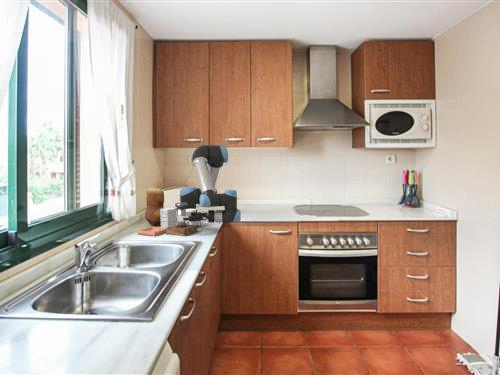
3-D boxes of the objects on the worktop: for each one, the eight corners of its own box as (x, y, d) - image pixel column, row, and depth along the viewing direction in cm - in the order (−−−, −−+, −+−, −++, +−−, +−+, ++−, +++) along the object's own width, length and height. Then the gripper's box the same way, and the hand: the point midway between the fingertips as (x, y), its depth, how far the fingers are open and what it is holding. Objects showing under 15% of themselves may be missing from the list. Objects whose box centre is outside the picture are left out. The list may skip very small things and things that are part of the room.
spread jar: (181, 227, 235) (181, 209, 234) (195, 224, 243) (195, 207, 242) (193, 229, 227) (192, 211, 226) (207, 227, 235) (207, 209, 234)
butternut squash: (170, 224, 243) (169, 187, 241) (156, 228, 232) (154, 189, 230) (155, 222, 250) (154, 186, 248) (140, 226, 239) (139, 188, 237)
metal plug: (180, 231, 221) (180, 202, 219) (190, 232, 218) (189, 202, 216) (173, 233, 214) (172, 203, 213) (183, 234, 211) (182, 204, 210)
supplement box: (169, 226, 237) (169, 207, 236) (177, 227, 232) (176, 208, 231) (160, 228, 231) (159, 208, 230) (167, 229, 226) (167, 209, 225)
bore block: (179, 230, 225) (179, 223, 224) (197, 232, 219) (197, 225, 219) (166, 234, 213) (166, 227, 213) (184, 236, 207) (184, 229, 207)
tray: (152, 230, 224) (152, 226, 224) (168, 232, 218) (168, 228, 218) (137, 234, 212) (137, 230, 212) (154, 236, 207) (154, 232, 207)
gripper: (214, 226, 204) (176, 227, 203) (215, 218, 229) (181, 219, 227) (214, 213, 204) (176, 213, 202) (215, 207, 228) (181, 207, 227)
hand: (178, 216), depth 215 cm, fingers open, 13 cm apart
